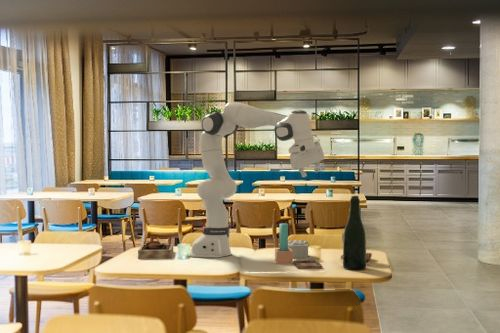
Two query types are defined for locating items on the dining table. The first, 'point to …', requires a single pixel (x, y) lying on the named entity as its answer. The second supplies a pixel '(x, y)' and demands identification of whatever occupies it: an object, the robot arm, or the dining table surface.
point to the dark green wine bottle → (354, 239)
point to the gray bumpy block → (299, 248)
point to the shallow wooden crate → (155, 252)
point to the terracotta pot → (284, 257)
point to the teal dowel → (283, 237)
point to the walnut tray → (307, 264)
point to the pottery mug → (155, 246)
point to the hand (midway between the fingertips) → (310, 174)
